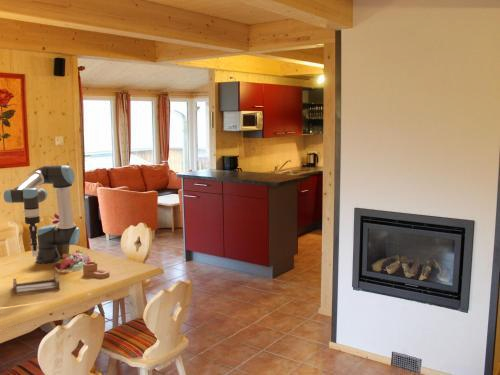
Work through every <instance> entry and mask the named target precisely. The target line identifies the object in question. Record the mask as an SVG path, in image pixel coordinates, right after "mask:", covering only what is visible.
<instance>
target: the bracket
mask: <svg viewBox="0 0 500 375" xmlns="http://www.w3.org/2000/svg"><path fill="white" fill-rule="evenodd" d="M82 273H83V275H82V276H86V277H91V278H97V279H104V278H105V279H106V278H108V277H110V275H111V274H110V270H107V269H104V268H103V269H102V268H98V262H97V261H95V260H94V261H92V260H91V261H90V262H87V263H83V270H82Z"/></svg>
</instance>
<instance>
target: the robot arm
mask: <svg viewBox="0 0 500 375" xmlns="http://www.w3.org/2000/svg"><path fill="white" fill-rule="evenodd" d="M75 178H76V177H75V172H74V170H73V168H72V166H70V165H63V164H62V165H44V166H41V167H39V168H36V169H34V170H33V171H32V172H30V173H29V174H28V177H26V178H25V179H24V180H23V181H21V182H20V183H19V184H18V185H16V187H14V188H13V189H11V188H10V189H6V190H4V192H3V200H4V202H5V203H7V204H8V203H9V204H13V203H14V204H17V203H19V204H20V203H23V206H24V207H23V209H24V210H23V211H22V213H24V216H25V217H24V223H25V225H29V226H28V229H29V234H30V248H31V252H32V257H35V262H36V263H39V264H51V263H57V262H59V260H60V259H61V256H60V254H59V252H58V249H57V245H69V246H73V245H74V246H75V245H77V244H78V242H79V240H80V235H81V231H80V230H81V229H80V227H78V226H77V224H76V223H75V222H74V217H73V215H74V214H73V206H72V197H71V187H72V186H73V184H74V183H75ZM46 184H47V185H48V184H49V185H50V184H51V185H52V188H53V189H55V195H56V201H57V211H58V212H57V213H58V216H59V219H58V220H59V222H58V225H57V226H56V225H55V224H52V225H51V224H50V225H45V226H41V227H39V228H38V226H37V225H36V224H40V221H41V219H40V206H39V205H40V203H42V202H45V201H46V199H47V197H48V192H47V190H45V189H44V188H41V187H40V188H37V187H39V186H42V185H46ZM59 223H60V224H59Z"/></svg>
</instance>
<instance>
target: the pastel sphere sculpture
mask: <svg viewBox="0 0 500 375" xmlns="http://www.w3.org/2000/svg"><path fill="white" fill-rule="evenodd" d="M61 257H62V258H60V260H59V261H58V262H55V263H54V264H53V266H52V268H53V269H55V271H56V272H58V273H72V272H78V271H83V263H87V262H90V261H92V260H91V259H90V255H89V254H88V253H85V254H84V255H83V251H80V249H77V250H75V253H74V252H73V253H72V254H71V253H69V254H63V255H62V256H61Z"/></svg>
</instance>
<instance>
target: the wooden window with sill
mask: <svg viewBox="0 0 500 375" xmlns="http://www.w3.org/2000/svg"><path fill="white" fill-rule="evenodd" d="M12 283H13V284H12V287H13V288H12V290H13V297H17V296H24V295H32V294H38V293H45V292H52V291H53V292H54V291H60V279H59V276H58V273H54V274H53V278H51V279H44V280H43V279H42V280H36V281H27V282H20V283H17V278H13V280H12Z"/></svg>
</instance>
